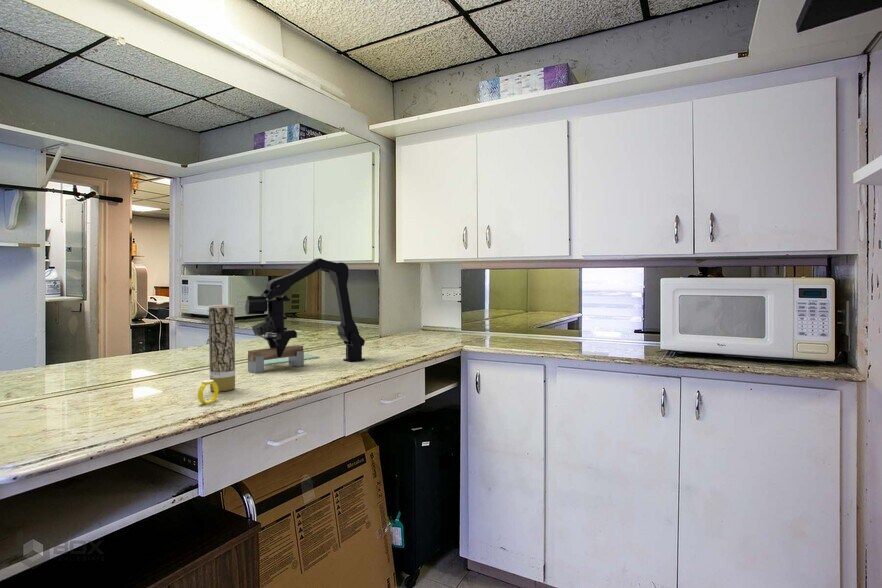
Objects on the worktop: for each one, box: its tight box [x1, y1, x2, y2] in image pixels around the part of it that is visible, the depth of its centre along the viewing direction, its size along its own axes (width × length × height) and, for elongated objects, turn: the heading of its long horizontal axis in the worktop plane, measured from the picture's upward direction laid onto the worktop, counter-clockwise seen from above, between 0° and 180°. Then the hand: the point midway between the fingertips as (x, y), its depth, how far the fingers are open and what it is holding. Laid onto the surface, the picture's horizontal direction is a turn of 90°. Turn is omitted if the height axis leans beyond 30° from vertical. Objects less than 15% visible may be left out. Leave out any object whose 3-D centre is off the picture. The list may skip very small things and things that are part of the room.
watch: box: [197, 379, 219, 405], centre depth 124 cm, size 6×3×6 cm, turn 164°
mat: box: [264, 354, 320, 366], centre depth 190 cm, size 9×24×1 cm, turn 139°
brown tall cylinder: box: [208, 304, 236, 392], centre depth 139 cm, size 7×7×25 cm
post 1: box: [247, 356, 265, 374], centre depth 167 cm, size 6×3×6 cm, turn 49°
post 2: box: [288, 350, 305, 368], centre depth 179 cm, size 6×3×6 cm, turn 49°
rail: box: [247, 344, 304, 362], centre depth 173 cm, size 4×20×4 cm, turn 139°
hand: (276, 356), depth 173 cm, fingers closed on rail, 3 cm apart
